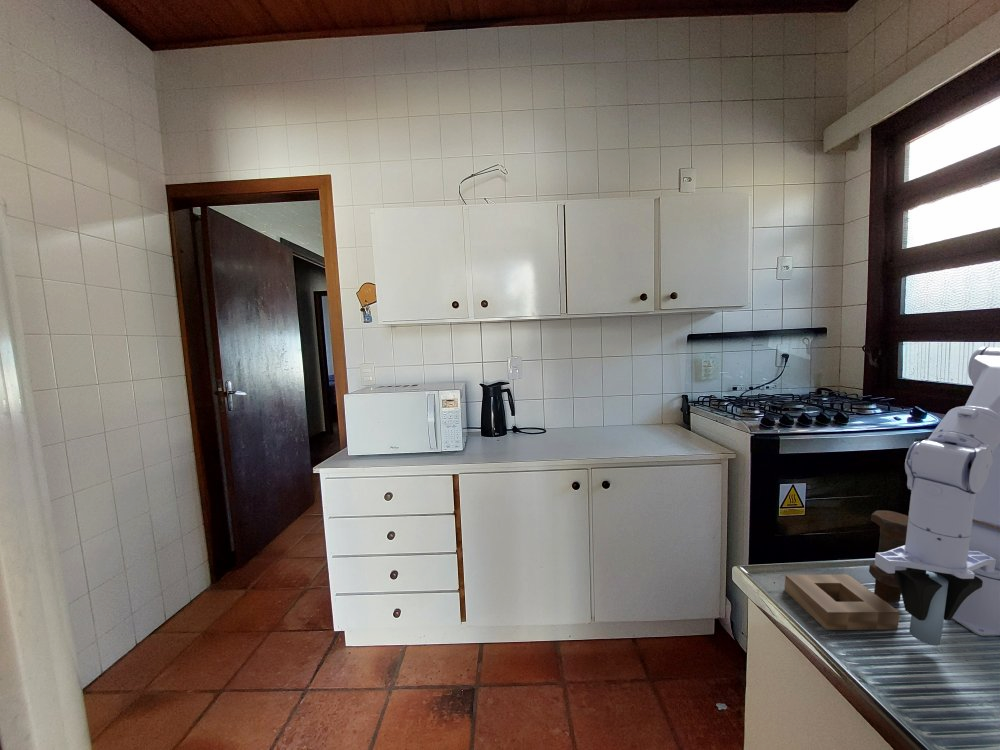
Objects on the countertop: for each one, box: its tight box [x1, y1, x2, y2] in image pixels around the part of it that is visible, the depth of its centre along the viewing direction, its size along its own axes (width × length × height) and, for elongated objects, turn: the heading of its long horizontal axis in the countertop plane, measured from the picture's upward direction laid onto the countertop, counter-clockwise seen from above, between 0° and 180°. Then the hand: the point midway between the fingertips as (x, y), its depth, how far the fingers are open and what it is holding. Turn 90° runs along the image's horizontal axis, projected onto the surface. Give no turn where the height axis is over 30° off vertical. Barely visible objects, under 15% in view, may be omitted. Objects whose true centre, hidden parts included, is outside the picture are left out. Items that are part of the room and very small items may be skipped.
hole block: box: [783, 573, 900, 631], centre depth 63 cm, size 11×9×3 cm
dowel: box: [909, 570, 948, 647], centre depth 54 cm, size 3×3×10 cm
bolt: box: [868, 509, 909, 604], centre depth 65 cm, size 6×5×15 cm
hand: (927, 615), depth 54 cm, fingers closed on dowel, 3 cm apart
